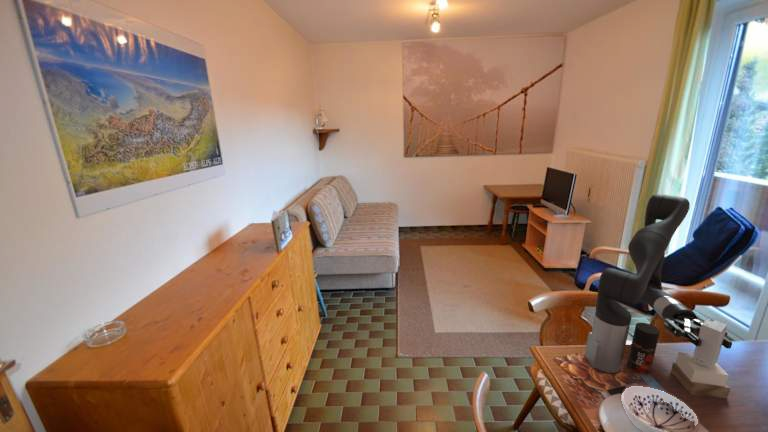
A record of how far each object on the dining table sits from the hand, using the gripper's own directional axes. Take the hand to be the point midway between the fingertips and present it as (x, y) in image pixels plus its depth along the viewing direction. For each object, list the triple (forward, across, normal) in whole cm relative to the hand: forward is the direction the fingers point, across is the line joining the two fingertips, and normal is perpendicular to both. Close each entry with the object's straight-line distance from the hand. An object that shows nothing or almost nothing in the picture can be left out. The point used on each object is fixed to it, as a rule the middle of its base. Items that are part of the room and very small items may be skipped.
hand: (714, 344), depth 92 cm
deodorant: (-6, -14, +15) cm, 21 cm away
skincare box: (-2, 0, +7) cm, 7 cm away
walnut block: (-1, 0, +16) cm, 16 cm away
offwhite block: (-1, 0, +12) cm, 12 cm away
